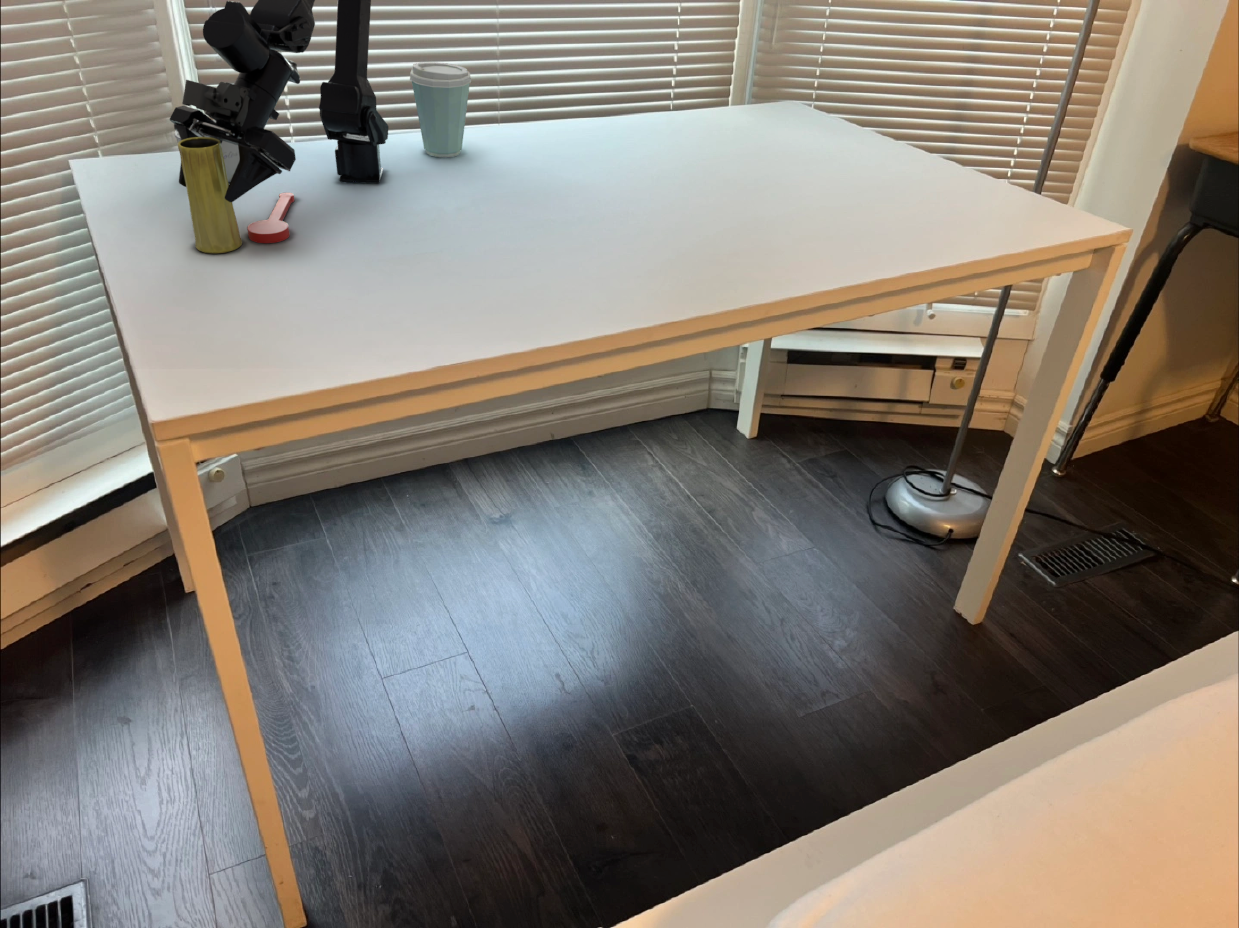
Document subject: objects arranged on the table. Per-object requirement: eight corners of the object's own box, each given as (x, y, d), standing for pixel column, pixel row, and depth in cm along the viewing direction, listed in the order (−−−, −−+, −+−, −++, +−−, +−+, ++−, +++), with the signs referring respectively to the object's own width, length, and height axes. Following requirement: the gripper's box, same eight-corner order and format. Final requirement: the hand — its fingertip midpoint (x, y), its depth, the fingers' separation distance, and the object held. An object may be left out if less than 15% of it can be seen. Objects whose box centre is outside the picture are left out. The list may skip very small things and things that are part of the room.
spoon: (306, 198, 150) (305, 189, 149) (286, 243, 135) (284, 234, 134) (270, 198, 149) (268, 189, 148) (244, 243, 134) (243, 233, 134)
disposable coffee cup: (443, 139, 178) (439, 54, 169) (486, 152, 173) (484, 65, 165) (401, 152, 171) (395, 63, 162) (445, 166, 166) (440, 75, 157)
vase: (251, 243, 134) (233, 140, 126) (219, 257, 130) (199, 152, 122) (218, 234, 136) (198, 132, 128) (185, 248, 132) (163, 143, 124)
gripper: (166, 42, 126) (111, 145, 125) (263, 66, 118) (207, 177, 117) (226, 92, 136) (176, 188, 135) (319, 118, 129) (268, 220, 127)
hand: (204, 192), depth 128 cm, fingers open, 9 cm apart
